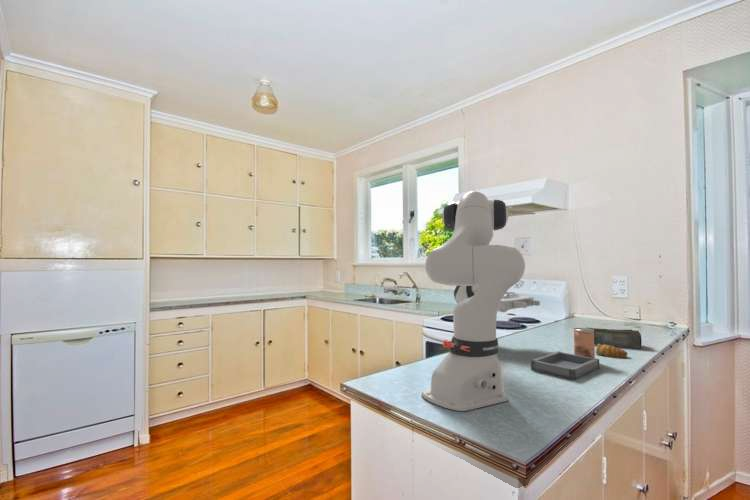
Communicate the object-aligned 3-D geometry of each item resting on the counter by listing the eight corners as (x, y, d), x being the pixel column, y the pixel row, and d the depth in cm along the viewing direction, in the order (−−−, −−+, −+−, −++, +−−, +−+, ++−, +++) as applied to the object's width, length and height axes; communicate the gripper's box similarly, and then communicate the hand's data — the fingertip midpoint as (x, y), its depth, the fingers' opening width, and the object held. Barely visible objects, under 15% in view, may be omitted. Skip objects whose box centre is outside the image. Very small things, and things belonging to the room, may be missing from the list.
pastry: (628, 356, 130) (628, 345, 130) (625, 360, 125) (625, 349, 125) (598, 351, 136) (598, 341, 137) (594, 355, 132) (594, 345, 132)
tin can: (590, 365, 119) (589, 331, 119) (571, 361, 123) (570, 329, 124) (598, 362, 122) (597, 329, 123) (579, 358, 127) (578, 327, 127)
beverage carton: (585, 340, 156) (585, 325, 156) (639, 345, 146) (639, 329, 146) (585, 344, 149) (585, 328, 149) (642, 350, 139) (642, 332, 139)
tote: (573, 380, 104) (573, 369, 104) (531, 369, 114) (530, 360, 114) (599, 368, 115) (599, 359, 115) (558, 360, 125) (558, 351, 125)
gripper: (485, 295, 143) (517, 298, 132) (514, 292, 155) (545, 294, 144) (485, 311, 142) (518, 315, 131) (514, 306, 155) (546, 310, 144)
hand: (532, 304), depth 138 cm, fingers open, 8 cm apart
